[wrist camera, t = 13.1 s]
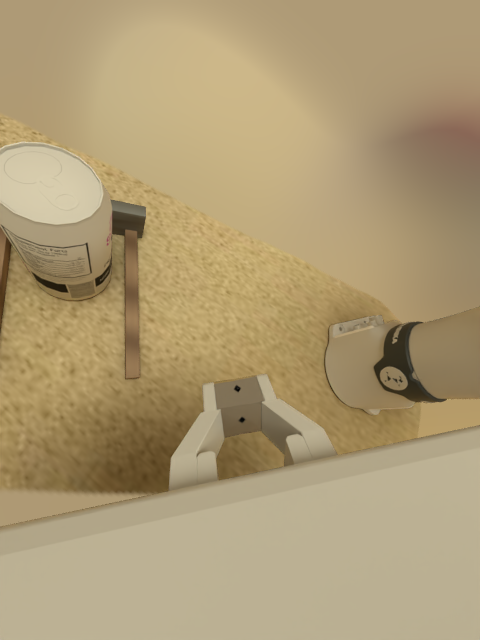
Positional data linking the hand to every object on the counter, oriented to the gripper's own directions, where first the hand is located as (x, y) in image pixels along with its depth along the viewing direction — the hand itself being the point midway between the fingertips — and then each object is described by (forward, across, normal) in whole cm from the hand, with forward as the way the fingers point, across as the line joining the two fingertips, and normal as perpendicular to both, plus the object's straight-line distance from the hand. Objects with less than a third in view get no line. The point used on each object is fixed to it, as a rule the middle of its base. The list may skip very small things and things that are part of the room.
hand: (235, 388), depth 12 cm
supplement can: (+25, +17, +1) cm, 30 cm away
